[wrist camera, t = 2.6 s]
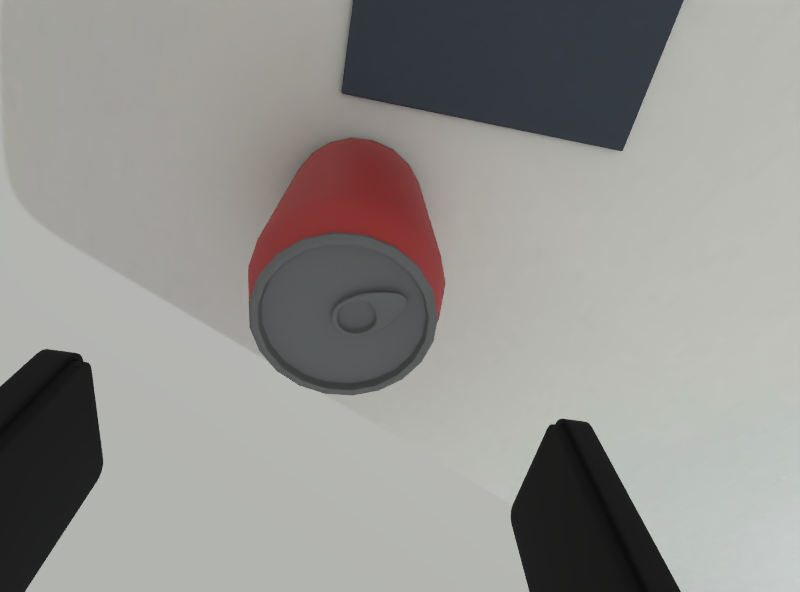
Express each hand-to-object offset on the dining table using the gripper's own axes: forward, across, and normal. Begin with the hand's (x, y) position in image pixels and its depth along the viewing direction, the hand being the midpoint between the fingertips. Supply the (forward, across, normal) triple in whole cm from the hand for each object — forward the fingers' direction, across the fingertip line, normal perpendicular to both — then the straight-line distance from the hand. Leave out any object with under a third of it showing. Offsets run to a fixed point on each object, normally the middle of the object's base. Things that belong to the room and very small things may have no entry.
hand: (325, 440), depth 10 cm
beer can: (+17, 0, 0) cm, 17 cm away
